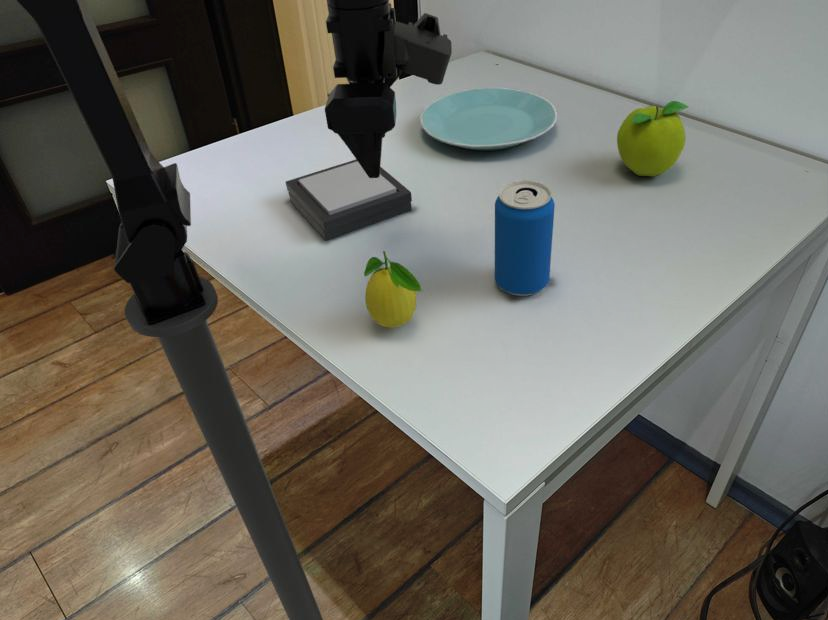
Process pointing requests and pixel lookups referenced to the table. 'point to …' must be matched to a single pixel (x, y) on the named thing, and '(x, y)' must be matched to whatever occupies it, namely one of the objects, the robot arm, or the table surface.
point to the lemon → (390, 292)
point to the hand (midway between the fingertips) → (377, 156)
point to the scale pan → (345, 188)
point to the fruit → (652, 139)
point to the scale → (353, 216)
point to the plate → (488, 118)
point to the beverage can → (523, 237)
